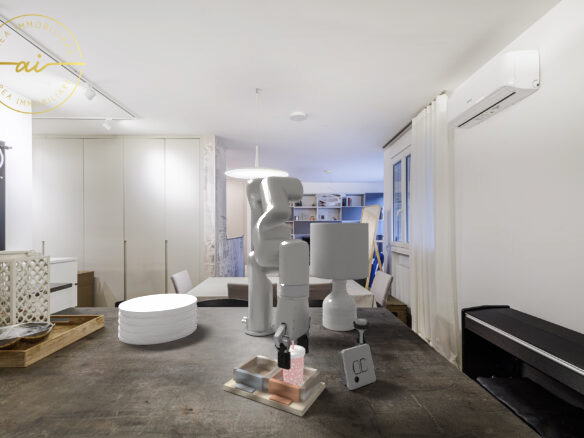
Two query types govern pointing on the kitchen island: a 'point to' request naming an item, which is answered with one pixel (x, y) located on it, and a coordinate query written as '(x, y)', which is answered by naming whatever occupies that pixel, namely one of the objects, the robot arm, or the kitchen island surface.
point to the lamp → (339, 267)
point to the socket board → (274, 385)
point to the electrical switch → (356, 366)
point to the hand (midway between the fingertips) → (293, 359)
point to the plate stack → (157, 318)
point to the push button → (361, 329)
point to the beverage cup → (295, 366)
